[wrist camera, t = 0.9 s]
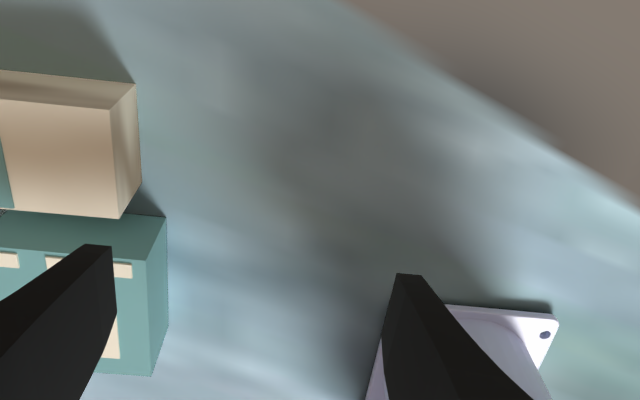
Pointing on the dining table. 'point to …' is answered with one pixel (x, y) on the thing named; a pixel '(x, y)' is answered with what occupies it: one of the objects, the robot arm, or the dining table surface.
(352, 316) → the dining table surface
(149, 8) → the dining table surface
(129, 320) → the teal toy building
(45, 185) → the stub
